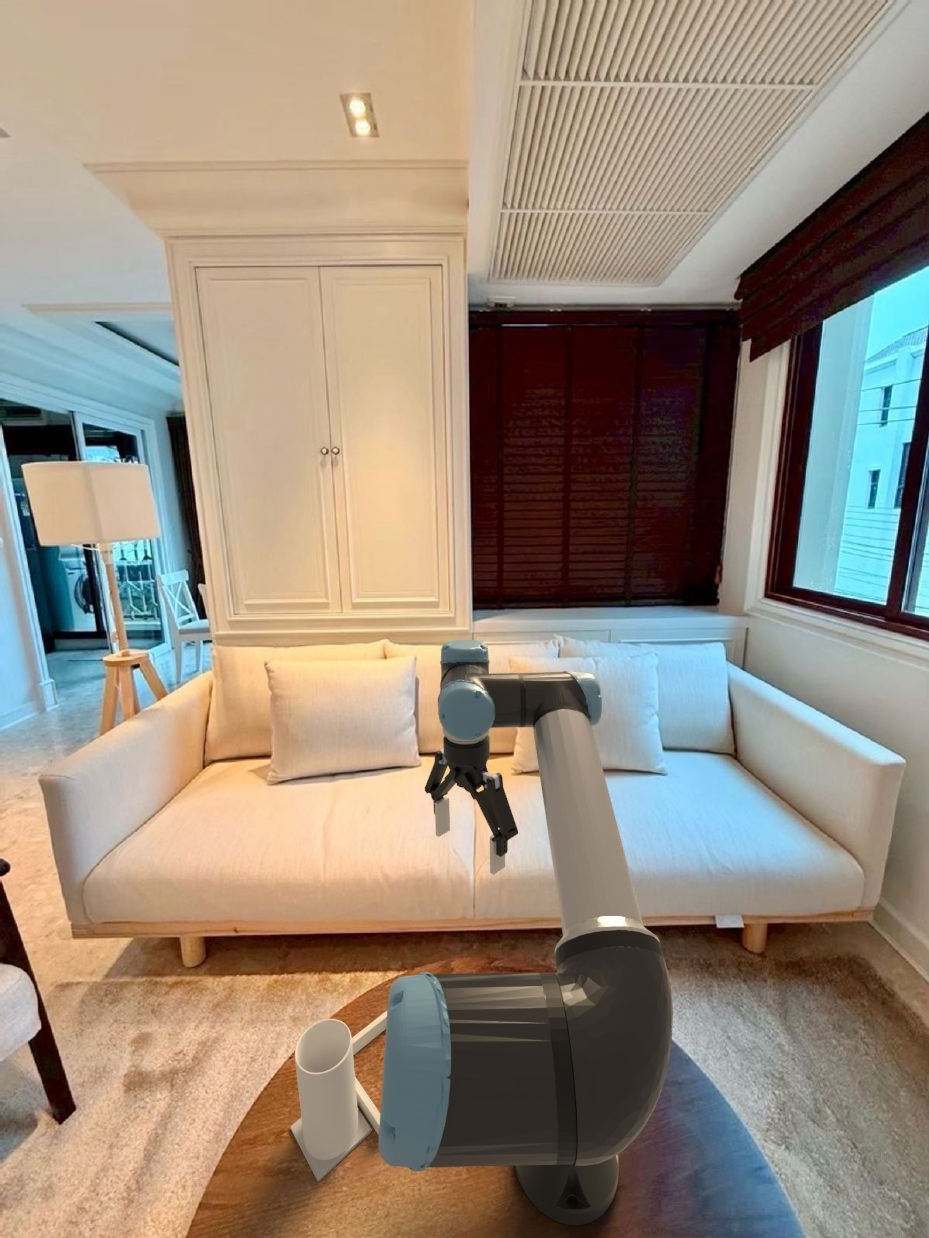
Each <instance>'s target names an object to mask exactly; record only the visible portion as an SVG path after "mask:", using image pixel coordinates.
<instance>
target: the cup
mask: <svg viewBox="0 0 929 1238" xmlns="http://www.w3.org/2000/svg"><path fill="white" fill-rule="evenodd" d="M352 1038H353V1037H352V1034H351V1031H350V1028H349V1026H348V1025H347V1024H346V1023H345V1022H343V1021H341V1020H339V1019H336V1018H327V1019H326V1018H324V1019H322V1020H319V1021H317V1022H315V1023H313V1024H311V1025H310V1026H309V1027H307V1028H306V1030H304V1031H303V1033H302V1034H301V1036H300V1037H299V1038H298V1040H297V1042H296V1045H295V1047H294V1048H295V1050H294V1063H295V1072H296V1080H297V1090H298V1091H297V1092H298V1098H299V1099H298V1100H299V1106H300V1107H299V1108H300V1116H301V1117H300V1118H302V1127H303V1136H304V1144H305V1147H306V1149H307V1151H308V1153H309V1154H310V1155H311V1156H312V1157H314V1158H316V1159H318V1160H331V1159H334V1158H336V1157H338V1156H340V1155H341V1154H342V1153H344V1152H345V1151H346V1150H347V1149H348V1148H349V1146H350V1145H351V1144H352V1142H353V1140H354V1138H355V1136H356V1133H357V1130H358V1109H359V1108H358V1103H357V1096H356V1084H355V1077H356V1074H355V1063H354V1062H355V1061H354V1055H353V1047H352Z"/></svg>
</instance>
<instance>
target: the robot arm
mask: <svg viewBox="0 0 929 1238" xmlns="http://www.w3.org/2000/svg"><path fill="white" fill-rule="evenodd" d="M439 663H440V672H441V673H440V674H441V675H440V685H439V689H440V690H439V694H438V697H437V709H438V710H437V715H438V720H439V722H440V724H441V727H442V734H443V738H442V739H443V742H442V743H443V748H441V749H440V750H437V751H435V752H434V762H433V765H432V767H431V770H430V774H429V776H428V779H427V781H426V783H425V787H424V792H425V793H426V794H428V795H429V794H430V797H431V800H432V801H433V813H434V819H435V836H436V837H439V838H440V837H441V836H443V835H445V834H447V833H448V832H450V831H451V826H450V825H451V820H450V819H451V816H450V798H449V797H448V796H446V795H449V792H450V790H452V788H453V787H454V786H457V787H459V788H462V789H464V790H465V791H466V792H467V793H469V794H470V796H471V798H472V799H473V800H475V801H476V803H477V804H478V806H479V808H480V810H481V813H482V815H483V817H484V819H485V821H486V823H487V825H488V827H489V830H490V831H491V833H492V835H490V836H489V873H490V874H491V875H493V876H494V875H495V874H497V873H499V872H500V871H502V870H503V869H504V868H505V867H506V854H507V853H508V851H509V849H508V847H509V846H508V842H509V840H511V839H512V838H514V837H516V836H517V835H518V834H519V831H518V830H519V829H518V827H517V823H516V821H515V818H514V815H513V812H512V810H511V806H510V803H509V800H508V797H507V794H506V791H505V788H504V783H503V782H504V779H503V775H502V773H500V772H497V773H494V774H493V773H490V772H489V770H488V768H487V763H488V760H489V758H490V753H491V751H490V749H491V748H490V746H491V744H490V743H491V742H490V741H491V740H490V739H491V738H490V735H489V734H490V730H491V729H500V728H501V729H502V728H503V729H504V728H505V729H506V728H511V729H512V728H532V729H533V737H534V746H535V751H536V758H537V765H538V771H539V772H538V773H539V779H540V784H541V792H542V799H543V801H542V802H543V805H544V806H543V807H544V813H545V820H546V828H547V834H548V840H549V846H550V847H549V849H550V854H551V860H552V861H551V862H552V866H553V867H552V868H553V874H554V882H555V888H556V894H557V902H558V908H559V916H560V917H559V918H560V922H561V923H560V924H561V930H562V937H561V938H560V940H559V941H558V943H557V944H556V945H555V947H554V958H555V966H556V967H555V968H556V972H508V973H507V972H500V973H499V972H497V973H494V972H493V973H492V972H491V973H483V972H482V973H430V972H429V971H422V972H420V973H418V974H414V975H404V976H400V977H398V978H396V979H395V980H394V981H393V982H392V983H391V986H390V987H389V991H388V998H387V1010H386V1011H387V1023H386V1029H385V1039H384V1040H385V1042H384V1054H383V1068H382V1070H383V1071H382V1082H381V1098H380V1099H381V1101H380V1111H379V1112H380V1126H379V1135H378V1144H377V1145H378V1152H379V1155H380V1158H381V1159H382V1160H383V1162H384V1163H385V1164H386V1165H389V1166H391V1167H399V1168H400V1167H402V1168H408V1169H409V1170H410V1171H413V1172H423V1171H424V1172H425V1170H426V1168H427V1169H428V1168H429V1169H430V1168H431V1169H432V1168H461V1167H462V1168H463V1167H465V1168H466V1167H498V1166H499V1167H504V1166H505V1167H506V1166H510V1167H511V1166H514V1168H515V1171H516V1176H517V1178H518V1181H519V1183H520V1186H521V1187H522V1189H523V1192H524V1193H525V1194H526V1196H527V1197H528V1199H529V1200H530V1202H531V1203H532V1204H533V1205H534V1207H536V1208H537V1210H538V1211H540V1212H541V1213H542V1214H543V1215H545V1216H546V1217H548V1218H549V1219H551V1220H552V1221H554V1222H556V1223H561V1224H564V1225H567V1226H583V1225H586V1224H590V1223H592V1222H595V1221H596V1220H597V1219H599V1218H600V1217H601V1216H603V1215H604V1214H605V1212H607V1210H608V1208H609V1207H610V1206H611V1205H612V1204H613V1203H612V1202H613V1201H614V1198H615V1195H616V1193H617V1188H618V1186H619V1185H618V1183H619V1172H620V1171H619V1170H620V1169H619V1168H620V1159H619V1154H620V1153H622V1152H623V1151H625V1150H626V1148H628V1147H629V1146H630V1145H631V1144H632V1143H633V1141H635V1139H636V1138H637V1137H638V1136H639V1135H640V1134H641V1132H642V1131H643V1129H644V1127H645V1126H646V1125H647V1123H648V1121H649V1120H650V1118H651V1116H652V1115H653V1112H654V1110H655V1108H656V1106H657V1103H658V1101H659V1099H660V1096H661V1093H662V1089H663V1086H664V1083H665V1080H666V1076H667V1072H668V1067H669V1063H670V1062H669V1061H670V1055H671V1051H672V1050H671V1049H672V1043H673V1023H674V1007H673V995H672V994H673V993H672V986H671V980H670V976H669V975H670V974H669V971H668V967H667V964H666V960H665V959H666V958H665V957H664V953H663V949H662V945H661V942H660V939H659V937H658V936H657V935H656V934H654V933H653V932H652V931H650V930H649V929H647V928H646V927H645V926H644V923H643V918H642V914H641V910H640V907H639V903H638V899H637V896H636V892H635V888H634V884H633V879H632V877H631V873H630V869H629V865H628V861H627V856H626V854H625V849H624V846H623V841H622V838H621V835H620V830H619V827H618V822H617V818H616V815H615V812H614V807H613V803H612V799H611V796H610V793H609V787H608V784H607V781H606V776H605V773H604V769H603V766H602V765H603V763H602V761H601V758H600V753H599V750H598V745H597V741H596V739H595V738H596V737H595V734H594V731H593V726H596V725H598V724H599V722H600V721H601V717H602V713H603V701H602V700H603V699H602V695H601V687H600V683H599V681H598V679H597V677H596V676H595V675H594V674H592V673H590V672H581V671H580V672H579V671H569V670H564V671H554V672H553V671H552V672H551V671H550V672H549V671H548V672H523V673H522V672H519V673H518V672H508V673H507V672H504V673H502V672H500V673H499V672H497V673H496V672H495V673H494V672H493V673H492V672H491V673H490V670H489V669H490V667H489V665H490V659H489V647H488V646H487V644H486V643H484V642H483V641H481V640H478V639H455V640H450V641H448V642H445V643H444V644H443V645H442V647H441V649H440V661H439ZM447 769H448V770H449V771H448V773H447V774H446V771H447ZM445 774H446V776H445ZM444 776H445V777H444ZM443 779H444V780H443ZM481 787H482V788H483V789H482V790H480V791H478V790H479V789H480V788H481Z"/></svg>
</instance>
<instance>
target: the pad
mask: <svg viewBox="0 0 929 1238" xmlns="http://www.w3.org/2000/svg"><path fill="white" fill-rule="evenodd" d="M290 1130H291V1133H292V1134H293V1136H294V1138H295V1141H296V1142H297V1145H298V1146H299V1149H300V1150H301V1152H302V1153H303V1154H302V1155H303V1156H304V1157H305V1159H306V1162H307V1163H308V1166H309V1167H310V1169H311V1172H312V1173H313V1175H314V1177H315V1178H316V1181H317V1183H319V1182H320V1181H321V1180H322V1179H323V1178H324V1177H325V1176H327V1174H329V1172H330V1171H332V1170H333V1169H334V1168H335V1167H336V1166H337V1165H338V1164H339V1163H340V1162H341V1161H342V1160H344V1158H346V1157H347V1156H348V1155H349V1154H350V1153H351V1152H352V1151H353V1150H354V1149H355V1148H356V1147H357V1146H358V1145H359V1144H360V1143H362V1141H363V1140H364V1139H366V1138H367V1136H369V1135H370V1133H371V1134H372V1128H371V1126H370V1124H369V1123H368V1122H367V1120H366V1118H365V1117H364V1116H363V1114H362V1111H360V1109H359V1108H358V1130H357V1133H356V1136H355V1138H354V1140H353V1142H352V1144H351V1145H350V1146H349V1148H348V1149H347V1150H346V1151H345V1152H344V1153H342V1154H341V1155H340V1156H338V1157H336V1158H334V1159H331V1160H318V1159H316V1158H314V1157H312V1156H311V1155H310V1154H309V1153H308V1151H307V1149H306V1147H305V1144H304V1136H303V1127H302V1118H301V1117H300V1118H299V1119H297V1120H296V1121H295V1122H293V1124H291V1125H290Z"/></svg>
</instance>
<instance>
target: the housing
mask: <svg viewBox="0 0 929 1238" xmlns="http://www.w3.org/2000/svg"><path fill="white" fill-rule="evenodd" d="M386 1023H387V1010H386V1011H384V1012H383V1013H382V1014H380V1015H378V1017H377V1018H376V1019H374V1020H373V1021H371V1022H370V1023H369V1024H368V1025H366V1026H365V1027H364V1028H363V1029H361V1030H360V1031H359V1032H357V1033H356V1034H355V1035H354V1036H353V1037H352V1047H353V1056H354V1055H356V1054H357V1053H358V1052H359V1051H361V1050H362V1049H363V1048H364V1047H365V1046H367V1045H368V1044H370V1043H371V1042H372V1041H373V1040H374V1039H376V1038H377V1037H378V1036H379V1035H380V1034H382V1033H383V1032H384V1031H386ZM355 1084H356V1096H357V1106H359V1107H360V1109H361V1112H363V1114H364V1115H365V1117H366V1119H367V1121H369V1123H370V1125H371V1126H372V1127H373V1129H374V1131H375V1132H376V1134H377V1135H378V1136H379V1126H380V1111H379V1110H378V1108H377V1106H376V1105H375V1103H374V1102H373V1101H372V1100H371V1098H370V1096H369V1094H367V1092H366V1090H365V1089H364V1087H363V1086H362V1084H361V1083H360V1082H359V1080H358V1079H357V1077H356V1076H355Z"/></svg>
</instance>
